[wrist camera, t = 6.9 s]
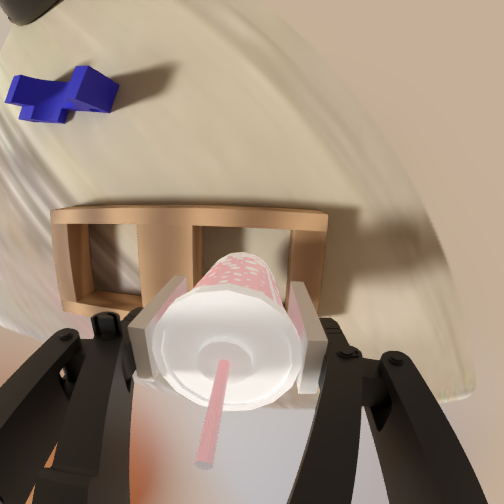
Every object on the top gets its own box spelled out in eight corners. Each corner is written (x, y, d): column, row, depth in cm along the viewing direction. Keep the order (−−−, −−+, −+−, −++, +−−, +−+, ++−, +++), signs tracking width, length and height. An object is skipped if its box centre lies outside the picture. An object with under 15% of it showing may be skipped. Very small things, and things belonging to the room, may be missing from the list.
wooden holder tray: (81, 298, 25) (63, 310, 22) (71, 206, 23) (50, 210, 19) (307, 318, 25) (313, 337, 21) (318, 210, 22) (328, 214, 19)
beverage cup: (180, 278, 19) (65, 423, 5) (245, 221, 18) (195, 330, 4) (237, 337, 20) (209, 512, 6) (302, 288, 19) (364, 464, 5)
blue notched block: (34, 122, 21) (0, 116, 15) (46, 87, 20) (14, 76, 14) (106, 127, 21) (69, 116, 15) (120, 85, 20) (88, 65, 14)
